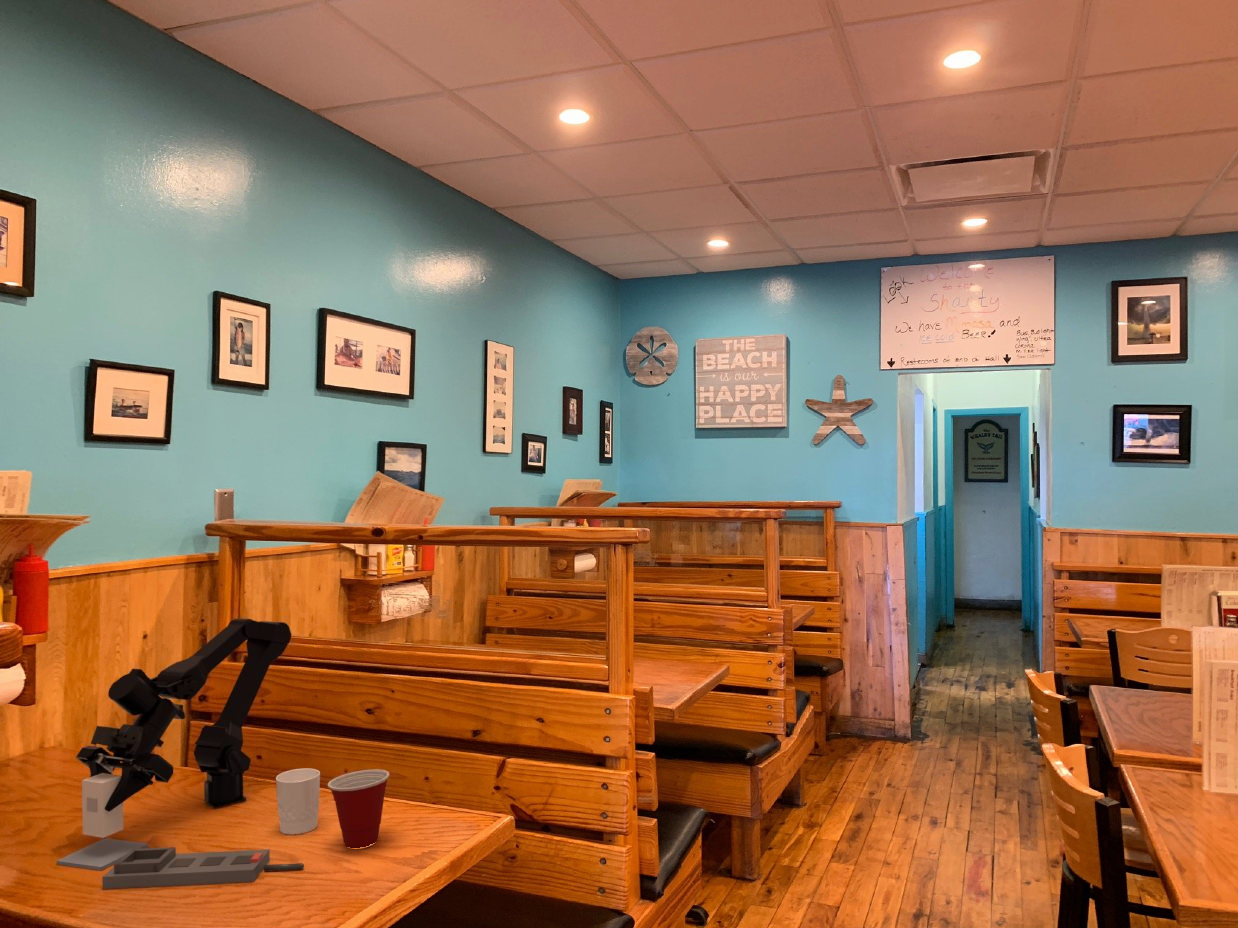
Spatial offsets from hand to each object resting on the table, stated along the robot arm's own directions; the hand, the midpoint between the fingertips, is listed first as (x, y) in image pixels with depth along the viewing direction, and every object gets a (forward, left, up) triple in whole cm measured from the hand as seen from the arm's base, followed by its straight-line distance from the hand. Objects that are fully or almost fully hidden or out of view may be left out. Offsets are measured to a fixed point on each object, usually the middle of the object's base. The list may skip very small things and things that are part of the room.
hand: (95, 808), depth 158 cm
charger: (-1, -1, -5) cm, 5 cm away
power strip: (-12, +21, -9) cm, 26 cm away
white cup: (-31, +12, -9) cm, 35 cm away
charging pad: (-1, -1, -9) cm, 9 cm away
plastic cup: (-36, +27, -9) cm, 46 cm away
